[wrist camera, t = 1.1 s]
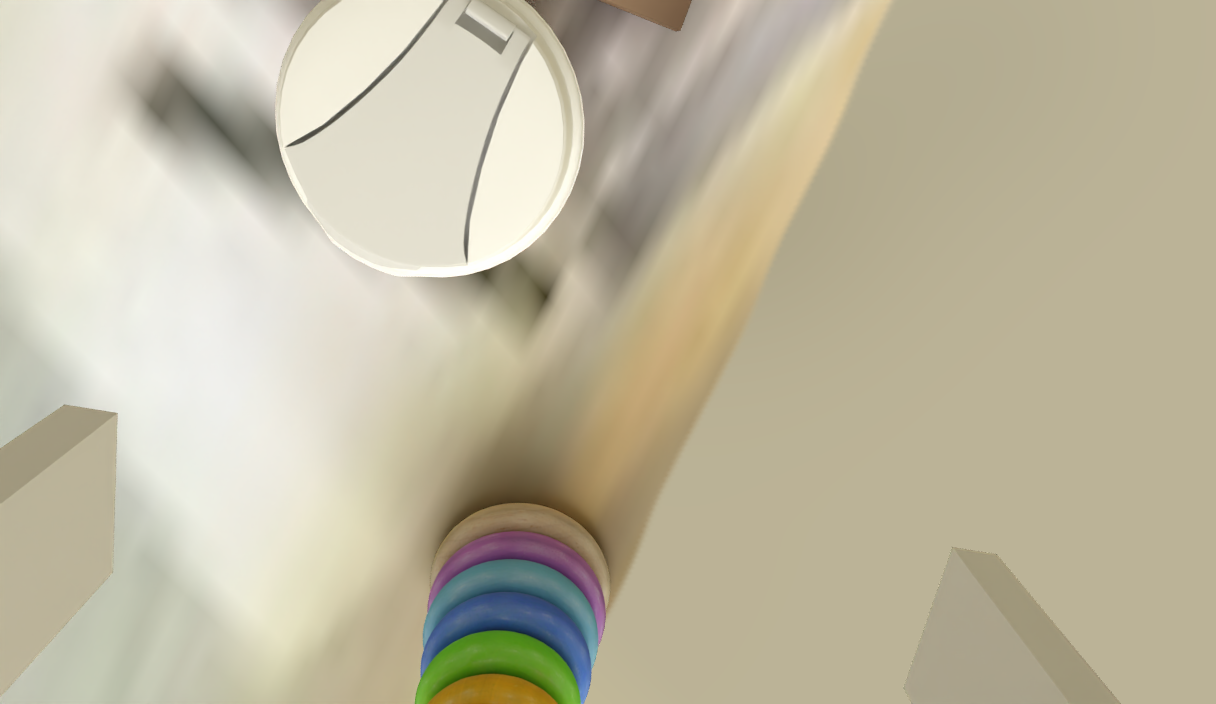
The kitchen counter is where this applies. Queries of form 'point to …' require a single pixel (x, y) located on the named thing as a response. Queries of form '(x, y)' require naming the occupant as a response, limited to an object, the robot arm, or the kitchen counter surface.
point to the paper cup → (429, 130)
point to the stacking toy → (514, 610)
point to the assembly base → (656, 10)
